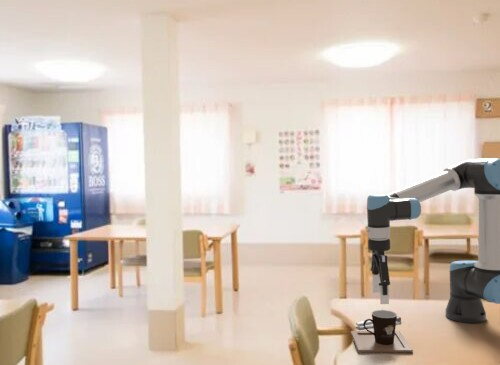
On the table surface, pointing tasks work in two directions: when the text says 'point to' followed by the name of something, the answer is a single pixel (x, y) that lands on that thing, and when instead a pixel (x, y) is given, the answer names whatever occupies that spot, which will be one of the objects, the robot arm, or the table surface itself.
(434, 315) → the table surface
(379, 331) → the coffee mug
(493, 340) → the table surface
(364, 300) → the table surface
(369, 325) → the tongs
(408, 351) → the tray
